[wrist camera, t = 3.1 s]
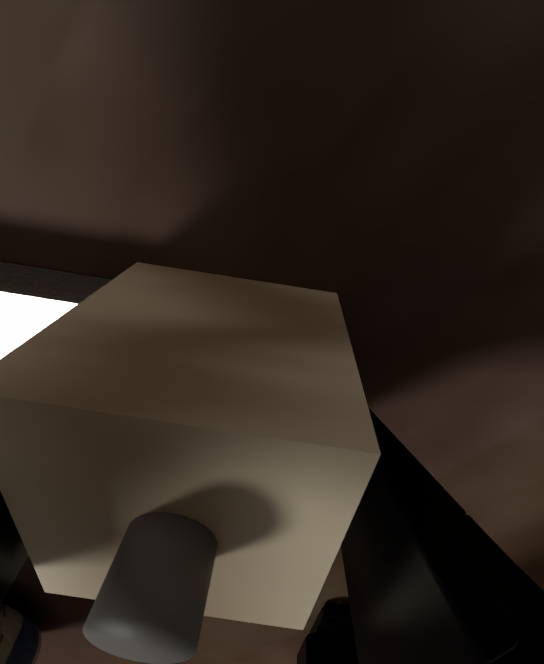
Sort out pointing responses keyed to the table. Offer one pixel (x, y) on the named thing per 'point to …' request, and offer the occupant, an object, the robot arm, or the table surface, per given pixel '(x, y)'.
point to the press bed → (37, 300)
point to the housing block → (185, 454)
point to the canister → (18, 637)
